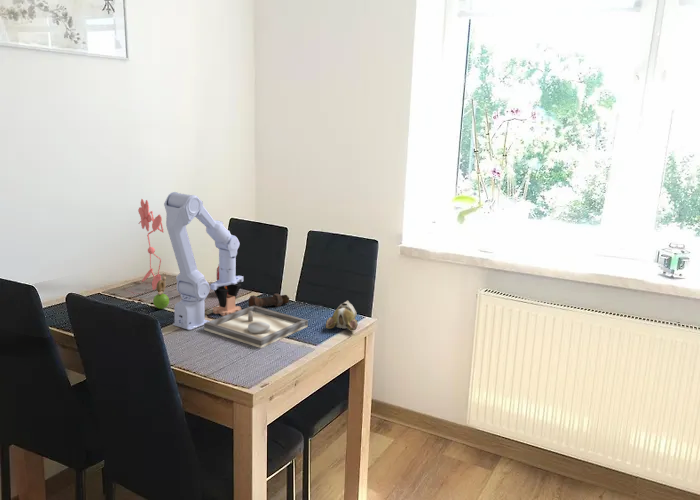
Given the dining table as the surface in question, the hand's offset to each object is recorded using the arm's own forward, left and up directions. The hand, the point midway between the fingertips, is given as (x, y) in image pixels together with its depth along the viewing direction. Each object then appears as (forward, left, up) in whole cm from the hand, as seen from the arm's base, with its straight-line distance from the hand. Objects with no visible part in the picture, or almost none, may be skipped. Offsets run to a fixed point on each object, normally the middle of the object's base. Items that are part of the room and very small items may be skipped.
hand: (227, 305), depth 216 cm
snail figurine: (-12, +20, -3) cm, 23 cm away
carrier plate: (-6, -19, -2) cm, 20 cm away
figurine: (0, +44, -3) cm, 44 cm away
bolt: (+14, -8, -3) cm, 16 cm away
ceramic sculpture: (+14, -40, -3) cm, 43 cm away
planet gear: (0, 0, -2) cm, 2 cm away
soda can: (+14, +14, -3) cm, 20 cm away
